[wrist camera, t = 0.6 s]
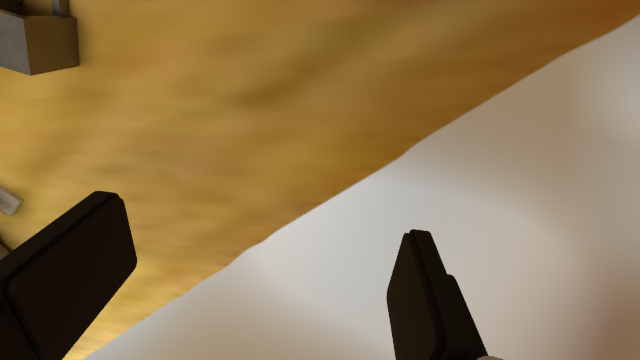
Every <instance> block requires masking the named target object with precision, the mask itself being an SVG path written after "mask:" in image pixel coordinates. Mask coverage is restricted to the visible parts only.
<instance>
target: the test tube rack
mask: <svg viewBox="0 0 640 360" xmlns="http://www.w3.org/2000/svg"><path fill="white" fill-rule="evenodd" d="M22 201H23V199H21V198H20V197H18V196H17V195H15V194H13V193H12V192H10V191H9V190H7V189H5V188H4V187H2V186H1V185H0V211H3V212H4V213H6V214H8V215H9V216H12V215H14V214H15V213H16V211H17V209H18V208H19V206H20V205H21V203H22Z"/></svg>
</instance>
